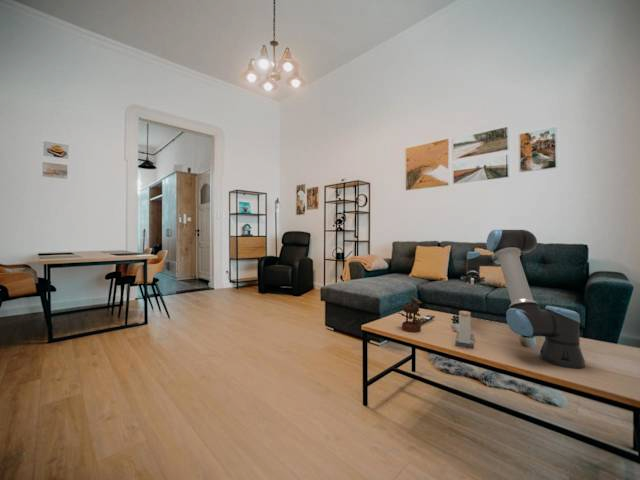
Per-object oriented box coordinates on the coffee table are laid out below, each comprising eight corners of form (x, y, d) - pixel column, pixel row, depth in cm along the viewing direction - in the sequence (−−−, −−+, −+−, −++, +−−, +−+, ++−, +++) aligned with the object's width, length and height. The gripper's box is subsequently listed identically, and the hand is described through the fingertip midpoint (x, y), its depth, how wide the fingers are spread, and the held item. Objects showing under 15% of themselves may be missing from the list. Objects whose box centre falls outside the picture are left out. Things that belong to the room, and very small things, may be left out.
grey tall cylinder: (458, 338, 145) (459, 310, 145) (470, 340, 143) (470, 311, 143) (458, 341, 141) (458, 312, 141) (470, 343, 138) (470, 314, 138)
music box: (426, 330, 166) (426, 296, 165) (418, 336, 158) (417, 300, 157) (403, 324, 177) (402, 292, 175) (393, 329, 169) (393, 296, 168)
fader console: (457, 335, 157) (457, 331, 157) (473, 338, 154) (473, 334, 154) (455, 345, 142) (455, 341, 142) (473, 348, 138) (473, 344, 138)
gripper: (484, 284, 174) (485, 289, 153) (461, 282, 180) (458, 287, 159) (484, 271, 174) (486, 275, 153) (461, 270, 180) (459, 274, 159)
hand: (472, 281), depth 156 cm, fingers closed
